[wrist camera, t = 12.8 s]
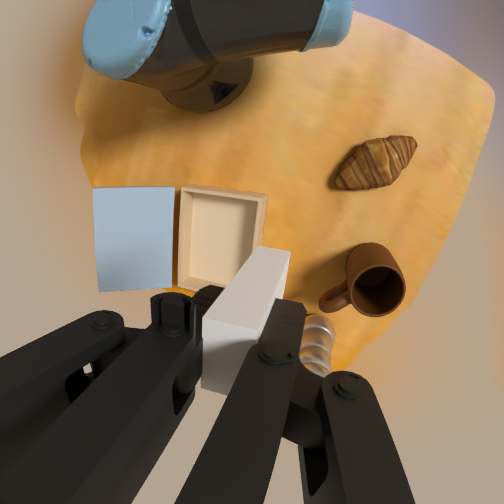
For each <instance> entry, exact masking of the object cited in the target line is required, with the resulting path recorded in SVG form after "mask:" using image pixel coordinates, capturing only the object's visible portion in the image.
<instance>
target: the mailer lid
mask: <svg viewBox="0 0 504 504" xmlns="http://www.w3.org/2000/svg"><path fill="white" fill-rule="evenodd" d="M174 196H175V187H174V186H123V187H94V188H93V221H94V242H95V255H96V256H95V257H96V268H97V278H98V288H99V292H107V291H123V290H139V289H154V288H168V287H172V244H173V215H174Z"/></svg>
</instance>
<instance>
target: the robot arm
mask: <svg viewBox="0 0 504 504" xmlns="http://www.w3.org/2000/svg"><path fill="white" fill-rule="evenodd" d="M352 12H353V0H97V1H96V3H95V4H94V6H93V8H92V10H91V11H90V13H89V15H88V17H87V19H86V22H85V25H84V29H83V33H82V52H83V56H84V58H85V61H86V62H87V64H88V65H89V66H90V67H91V68H92V69H93V70H95V71H96V72H99V73H101V74H104V75H106V76H108V77H110V78H112V79H116V80H118V79H119V80H125V81H129V82H133V83H137V84H141V85H144V86H148V87H151V88H155V89H158V90H160V91H161V93H162V94H163V96H164V97H165V98H166V99H167V100H168V101H169V102H170V103H171V104H173V105H175V106H176V107H178V108H181V109H184V110H188V111H192V112H209V111H214V110H217V109H219V108H222V107H224V106H226V105H227V104H229V103H230V102H232V101H233V100H234V99H236V98H237V97H238V96H239V95H240V94H241V92H242V91H243V90H244V89H245V87H246V85H247V84H248V82H249V80H250V77H251V74H252V70H253V57H256V56H261V55H268V54H274V53H282V52H289V51H299V52H306V51H307V50H309V49H316V48H325V47H333V46H336V45H338V44H340V43H341V42H342V41H343V40H344V39H345V37H346V36H347V34H348V32H349V29H350V25H351V20H352ZM290 253H291V252H290V251H284V250H279V249H274V248H269V247H263V246H258V247H257V248H256V249H255V251H254V252H253V253H252V254H251V256H250V257H249V258H248V260H247V261H246V262H245V263H244V265H243V266H242V267H241V269H240V270H239V271H238V272H237V274H236V275H235V276H234V277H233V279H232V280H231V281H230V283H229V284H228V285H227V286H226V288H223V287H219V286H215V285H208V286H206V287H203V288H201V289H199V290H198V291H197V293H196V294H195V295H194V297H192V298H191V297H190V296H187V295H185V294H182V293H175V292H167V293H161V294H157V295H155V296H153V297H151V299H150V301H151V318H152V323H151V324H150V325H149V326H148V327H147V328H146V329H138V328H129V327H124V321H123V317H122V316H121V315H120V314H118V313H116V312H113V311H107V310H102V311H95V312H92V313H90V314H87V315H85V316H83V317H81V318H79V319H77V320H75V321H73V322H71V323H69V324H67V325H65V326H63V327H61V328H59V329H57V330H55V331H53V332H51V333H49V334H46V335H44V336H42V337H41V338H38V339H36V340H34V341H32V342H30V343H28V344H26V345H24V346H22V347H20V348H18V349H16V350H14V351H12V352H10V353H8V354H6V355H4V356H2V357H0V504H131V503H132V501H133V500H134V498H135V497H136V495H137V493H138V492H139V490H140V488H141V487H142V485H143V484H144V482H145V480H146V479H147V477H148V475H149V474H150V472H151V470H152V469H153V467H154V466H155V464H156V462H157V461H158V459H159V457H160V455H161V454H162V452H163V451H164V449H165V447H166V446H167V444H168V442H169V441H170V439H171V437H172V435H173V434H174V432H175V430H176V429H177V427H178V425H179V424H180V422H181V420H182V418H183V417H184V415H185V413H186V412H187V410H188V408H189V407H190V405H191V403H192V401H193V400H194V397H195V385H196V384H197V382H198V380H199V379H200V377H201V388H203V389H207V390H210V391H213V392H217V393H221V394H224V395H227V398H226V400H225V403H224V405H223V407H222V409H221V411H220V413H219V415H218V417H217V419H216V421H215V424H214V426H213V428H212V430H211V432H210V434H209V436H208V438H207V440H206V442H205V444H204V446H203V448H202V450H201V452H200V454H199V456H198V458H197V460H196V462H195V464H194V466H193V468H192V470H191V472H190V474H189V476H188V478H187V480H186V482H185V484H184V486H183V488H182V490H181V491H180V494H179V496H178V497H177V499H176V501H175V503H174V504H263V502H264V499H265V496H266V492H267V489H268V485H269V482H270V479H271V475H272V471H273V468H274V464H275V460H276V456H277V453H278V449H279V445H280V441H281V437H283V438H285V439H287V440H289V441H291V442H294V443H296V444H298V453H299V462H300V471H301V480H302V489H303V499H304V504H415V501H414V498H413V495H412V492H411V489H410V486H409V483H408V480H407V477H406V475H405V472H404V469H403V466H402V463H401V460H400V458H399V455H398V452H397V450H396V447H395V444H394V441H393V439H392V436H391V434H390V431H389V428H388V426H387V423H386V421H385V418H384V415H383V413H382V410H381V408H380V406H379V403H378V401H377V398H376V396H375V393H374V391H373V388H372V387H371V385H370V384H369V382H368V381H367V380H366V379H364V378H363V377H362V376H360V375H358V374H356V373H353V372H348V371H336V372H332V373H330V374H328V375H326V376H325V378H324V377H322V376H319V375H317V374H315V373H313V372H311V371H310V370H308V369H307V368H306V367H305V366H304V365H303V364H302V362H301V360H300V358H299V351H300V346H301V341H302V335H303V330H304V324H305V319H306V313H307V311H306V309H305V307H304V305H303V304H302V303H298V302H293V301H288V300H283V293H284V288H285V282H286V276H287V271H288V265H289V259H290ZM88 363H90V365H91V368H92V372H90V373H87V374H86V373H84V370H83V367H84V366H85V365H87V364H88Z"/></svg>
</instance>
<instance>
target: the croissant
mask: <svg viewBox="0 0 504 504" xmlns="http://www.w3.org/2000/svg"><path fill="white" fill-rule="evenodd" d="M416 147H417V143H416V141H415V139H414V138H413V137H409V136H389V137H387V138H377V139H372V140H368V141H365V142H364V143H363V144H362V145H361V146H360V147H359V148H358V149H357V150H356V152H355V154H354V155H353V157H351V158H349V159H347V161H346V162H345V164H344V165H343V166H342V168H341V169H340V171H339V173H338V174H337V176H336V178H335V183H336V185H337V186H338V187H339V188H340V189H358V190H365V189H367V188H369V187H375V188H380V187H384V186H388V185H391V184H392V183H393V182H394V181H395V180H396V179H397V178H398V177H399V175H400V173H401V171H402V169H404V168H405V167H407V165H408V163H409V162H410V160H411V158H412V156H413V154H414V152H415V150H416Z"/></svg>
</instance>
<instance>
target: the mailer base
mask: <svg viewBox="0 0 504 504" xmlns="http://www.w3.org/2000/svg"><path fill="white" fill-rule="evenodd" d="M267 199H268V195H267V194H261V193H254V192H247V191H240V190H233V189H226V188H218V187H211V186H203V185H194V184H192V185H188V186H184V187H181V201H180V220H179V245H178V287H181V288H185V289H189V290H193V291H198V290H199V289H201V288H203V287H206V286H208V285H215V286H219V287H223V288H226V286H227V285H228V284H229V283H230V281H231V280H232V279H233V277H234V276H235V275H236V274H237V272H238V271H239V270H240V269H241V267H242V266H243V265H244V263H245V262H246V261H247V260H248V258H249V257H250V256H251V254H252V253H253V252H254V251H255V249H256V248H257V247H258V246H262V238H263V230H264V222H265V215H266V207H267Z"/></svg>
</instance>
